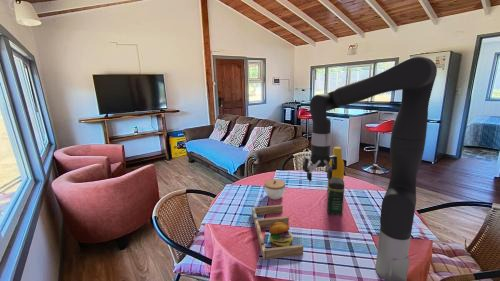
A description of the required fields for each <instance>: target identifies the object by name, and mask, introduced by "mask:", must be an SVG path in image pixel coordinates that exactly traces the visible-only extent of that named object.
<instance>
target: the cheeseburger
mask: <svg viewBox="0 0 500 281" xmlns="http://www.w3.org/2000/svg"><path fill="white" fill-rule="evenodd" d="M290 230H291V228H290V226H289V225H287V224H284V223H282V222H277V223H274V224H273V225H272V226H271V227H269V230H268V231H269V234H270V236H269V241H270V242H271V245H272V246H273V248H277V247H286V246H293V245H292V244H293V240H294V237H293V235H292V233H291V231H290Z"/></svg>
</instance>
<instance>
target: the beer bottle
mask: <svg viewBox="0 0 500 281" xmlns="http://www.w3.org/2000/svg"><path fill="white" fill-rule="evenodd" d="M332 155H335V156H336V157H337V169H336V170H333V171H332V177H337V178H340V179H342V180H343V181H344V175H345V161H344V159H343V157H342V156H343V155H342V147H340V146H334V147H333V151H332ZM328 163H329V165H330V166H332V160H331V159H330V160H329V162H328ZM328 184H329V179H327V191H328Z"/></svg>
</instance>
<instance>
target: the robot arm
mask: <svg viewBox="0 0 500 281" xmlns="http://www.w3.org/2000/svg"><path fill="white" fill-rule="evenodd" d="M437 75H438V68H437V65H436V63H435V62H434V60H432V59H431V58H428V57H424V56H411V57H409V58H406V59H405V60H403V61H401V62H399V63H397V64H395V65H393V66H392V67H390V68H388V69H386V70H384V71H381V72H380V73H377V74H375V75H373V76H369V77H367V78H364V79H361V80H356V81H355V82H351V83H349V84H345V85H342V86H340V87H338V88H336V89H335V90H333V91H330V92H327V93H318V94H316V95H313V96H312V98H311V99H310V101H309V111H310V116H311V121H312V133H311V141H310V143H311V146H310V147H311V149H310V150H311V152H310V157H307V156H303V160H302V170H303V171H304V172H305V173H306V179H307V180H308V181H309V182H312V178H313V177H312V176H313V174H312V172H313V171H314V170H315V169H316V168H321V167H322V168H325V167H326V169H327V170H326V171H327V172H326V179H327V180H328V179H329V180H330V179H331V178H332V171H333V170H336V169H337V157H336V156H335V155H333V154H332V155H330V154H331V142H332V141H331V139H332V137H331V127H332V125H331V124H332V123H331V119H330V118H328V116H327V112H329V111H333V110H335V109H338V108H340V107H345V106H348V105H352V104H355V103H359V102H362V101H366V100H367V99H370V98H373V97H375V96H378V95H381V94H384V93H388V92H394V91H401V102H400V107H399V109H398V112H397V115H396V118H395V120H394V123H393V125H392V126H393V127H392V130H391V134H390V144H389V157H390V158H389V159H390V165H391V166H390V167H391V172H390V173H391V174H390V177H389V183H388V185H387V189H386V191H385V194H384V196H383V198H382V201H381V208H380V217H379V218H380V219H379V224H380V225H379V234H378V235H379V236H378V242H377V250H376V260H375V261H376V262H375V268H374V269H375V271H376V273H377V275H378V276H379V277H381V278H382V279H384V281H407V279H408V273H409V267H410V266H409V265H410V261H411V259H410V257H409V251H410V243H411V237H412V232H413V224H414V219H415V218H414V217H415V211H416V206H417V176H418V172H419V169H420V166H421V163H422V161H423V160H422V159H423V156H424V151H425V145H426V140H427V130H428V121H429V120H428V117H429V104H430V98H431V95H432V92H433V88H434V86H435V81H436V77H437ZM330 160H332V166H330V165H329V162H330Z"/></svg>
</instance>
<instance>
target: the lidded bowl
mask: <svg viewBox="0 0 500 281" xmlns="http://www.w3.org/2000/svg"><path fill="white" fill-rule="evenodd" d="M285 190H286V182H285V181H284V180H282V179H278V178H273V179H267V180H266V181H265V182H264V191H265V193H266V196H268V198H269V199H272V200H280V199H281V198H282V197H283V196H284V194H285Z"/></svg>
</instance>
